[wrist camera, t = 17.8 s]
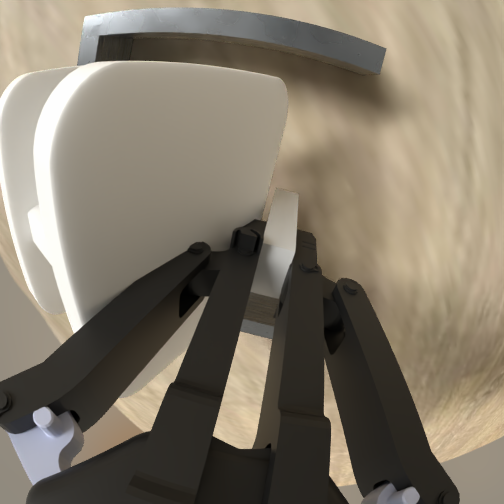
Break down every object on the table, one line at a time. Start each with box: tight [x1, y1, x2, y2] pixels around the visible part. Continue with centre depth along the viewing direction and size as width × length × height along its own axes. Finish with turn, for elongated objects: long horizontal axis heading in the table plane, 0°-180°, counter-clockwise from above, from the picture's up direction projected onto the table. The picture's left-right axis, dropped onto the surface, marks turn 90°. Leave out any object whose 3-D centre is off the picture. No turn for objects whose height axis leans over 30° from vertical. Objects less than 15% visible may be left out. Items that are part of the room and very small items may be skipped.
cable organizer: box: [0, 61, 288, 398], centre depth 14 cm, size 15×11×12 cm
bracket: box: [77, 8, 386, 339], centre depth 18 cm, size 17×21×4 cm
